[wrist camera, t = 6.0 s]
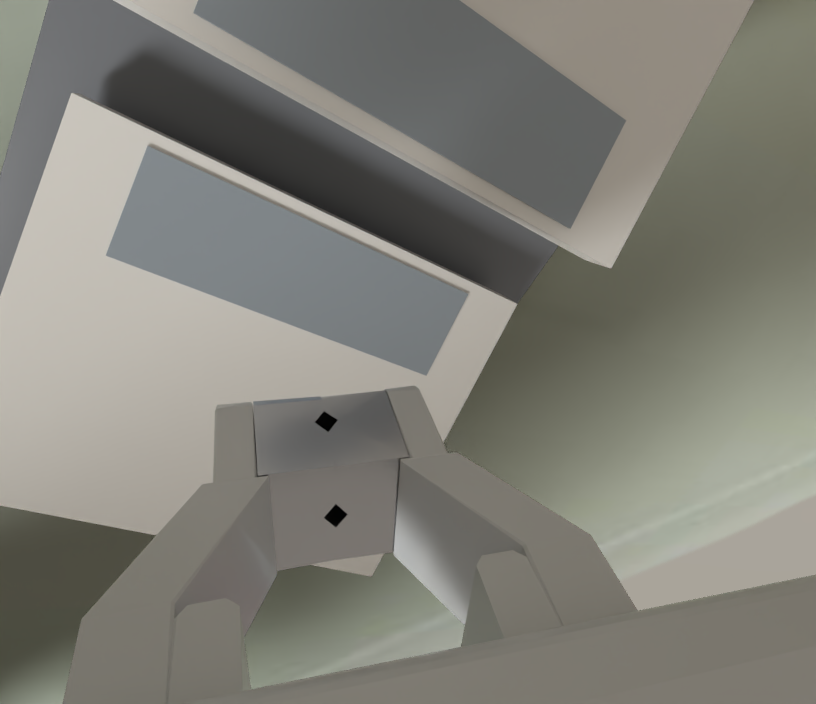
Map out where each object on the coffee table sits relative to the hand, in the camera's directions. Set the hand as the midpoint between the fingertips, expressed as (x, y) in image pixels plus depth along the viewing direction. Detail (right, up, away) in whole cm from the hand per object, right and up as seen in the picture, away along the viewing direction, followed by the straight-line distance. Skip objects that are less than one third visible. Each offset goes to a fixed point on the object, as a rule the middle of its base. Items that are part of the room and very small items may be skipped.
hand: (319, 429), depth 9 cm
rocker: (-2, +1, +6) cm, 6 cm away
